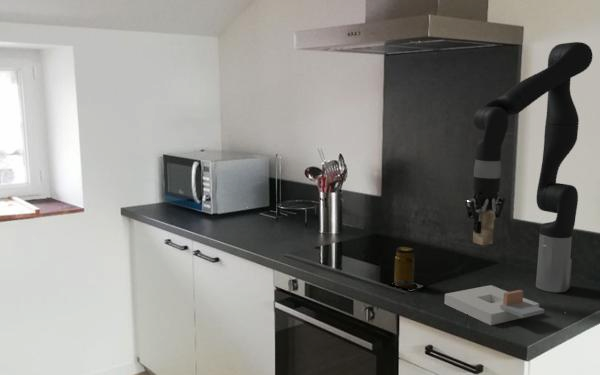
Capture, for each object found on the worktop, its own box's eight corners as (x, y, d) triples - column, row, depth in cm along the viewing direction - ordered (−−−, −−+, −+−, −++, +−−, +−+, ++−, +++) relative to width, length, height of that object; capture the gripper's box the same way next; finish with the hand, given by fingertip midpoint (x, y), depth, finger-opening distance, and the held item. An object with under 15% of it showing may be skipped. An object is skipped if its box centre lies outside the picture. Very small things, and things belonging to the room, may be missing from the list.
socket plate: (490, 294, 182) (490, 285, 181) (538, 314, 166) (539, 303, 166) (444, 303, 173) (444, 293, 173) (490, 325, 158) (491, 314, 157)
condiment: (401, 280, 195) (402, 244, 193) (423, 286, 189) (425, 249, 187) (388, 285, 189) (389, 248, 188) (411, 292, 184) (412, 254, 182)
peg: (482, 240, 182) (484, 208, 180) (492, 243, 178) (494, 210, 177) (472, 242, 180) (474, 209, 178) (482, 245, 176) (484, 211, 175)
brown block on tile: (521, 303, 165) (522, 289, 164) (544, 312, 158) (545, 297, 157) (500, 308, 161) (501, 293, 160) (522, 317, 154) (523, 302, 154)
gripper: (477, 178, 169) (473, 237, 172) (514, 176, 176) (510, 233, 178) (459, 174, 176) (456, 232, 179) (495, 172, 182) (491, 228, 185)
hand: (483, 232), depth 178 cm, fingers closed on peg, 4 cm apart
